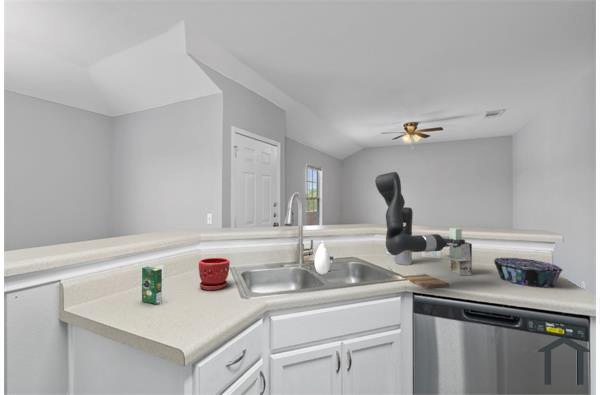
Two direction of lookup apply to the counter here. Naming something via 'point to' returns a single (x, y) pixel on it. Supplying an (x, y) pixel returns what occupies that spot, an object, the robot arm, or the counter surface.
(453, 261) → the coffee box
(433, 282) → the wooden cutting board
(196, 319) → the counter surface
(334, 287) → the counter surface
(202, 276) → the plant pot
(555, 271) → the decorative bowl
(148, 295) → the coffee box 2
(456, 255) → the mint green tall block
